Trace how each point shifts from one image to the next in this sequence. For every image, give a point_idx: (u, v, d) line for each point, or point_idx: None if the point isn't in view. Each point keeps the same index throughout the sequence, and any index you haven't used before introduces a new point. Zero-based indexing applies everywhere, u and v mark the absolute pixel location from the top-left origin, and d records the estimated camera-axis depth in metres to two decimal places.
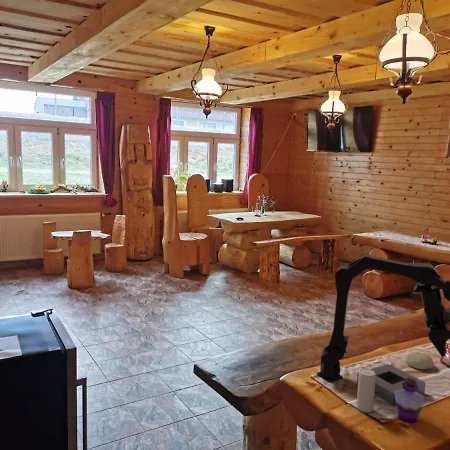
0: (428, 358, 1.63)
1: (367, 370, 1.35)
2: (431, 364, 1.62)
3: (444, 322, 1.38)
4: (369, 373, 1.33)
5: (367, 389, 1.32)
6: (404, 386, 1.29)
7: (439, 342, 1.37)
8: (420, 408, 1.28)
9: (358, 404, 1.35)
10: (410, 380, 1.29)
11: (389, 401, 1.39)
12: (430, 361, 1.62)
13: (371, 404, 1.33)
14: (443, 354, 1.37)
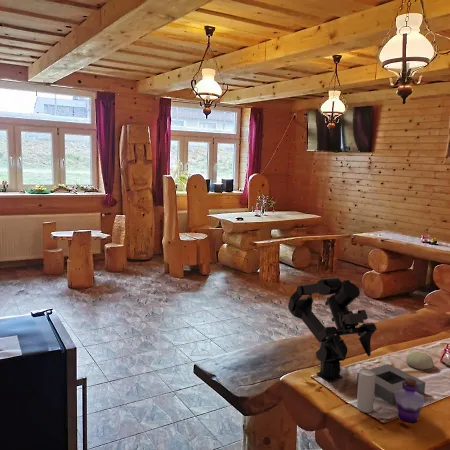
0: (428, 358, 1.63)
1: (367, 370, 1.35)
2: (431, 364, 1.62)
3: (341, 325, 1.43)
4: (369, 373, 1.33)
5: (367, 389, 1.32)
6: (404, 386, 1.29)
7: (335, 344, 1.41)
8: (420, 408, 1.28)
9: (358, 404, 1.35)
10: (410, 380, 1.29)
11: (389, 401, 1.39)
12: (430, 361, 1.62)
13: (371, 404, 1.33)
14: (342, 356, 1.39)
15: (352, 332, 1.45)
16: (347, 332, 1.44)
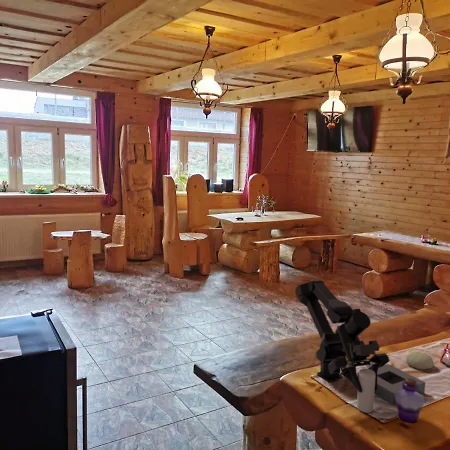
0: (428, 358, 1.63)
1: (367, 370, 1.35)
2: (431, 364, 1.62)
3: (351, 356, 1.37)
4: (369, 373, 1.33)
5: (367, 389, 1.32)
6: (404, 386, 1.29)
7: (351, 376, 1.36)
8: (420, 408, 1.28)
9: (358, 404, 1.35)
10: (410, 380, 1.29)
11: (389, 401, 1.39)
12: (430, 361, 1.62)
13: (371, 404, 1.33)
14: (359, 389, 1.33)
15: (363, 363, 1.38)
16: (358, 363, 1.38)
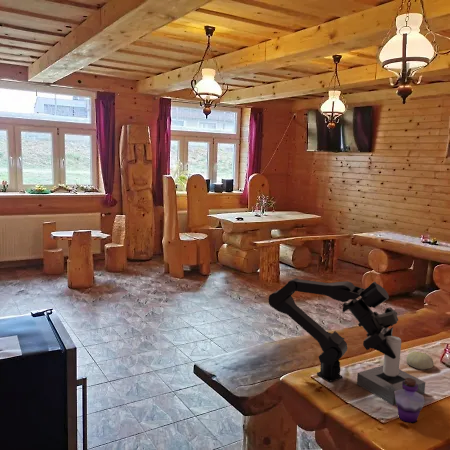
0: (428, 358, 1.63)
1: (391, 337, 1.44)
2: (431, 364, 1.62)
3: (378, 328, 1.42)
4: (396, 339, 1.43)
5: (399, 354, 1.42)
6: (404, 386, 1.29)
7: (382, 346, 1.41)
8: (420, 408, 1.28)
9: (389, 371, 1.43)
10: (410, 380, 1.29)
11: (389, 401, 1.39)
12: (430, 361, 1.62)
13: None
14: (393, 355, 1.41)
15: (381, 332, 1.46)
16: None
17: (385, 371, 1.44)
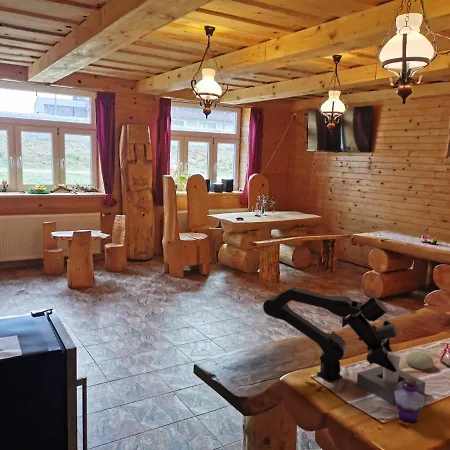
0: (428, 358, 1.63)
1: (389, 353, 1.48)
2: (431, 364, 1.62)
3: (379, 341, 1.45)
4: (394, 355, 1.47)
5: (398, 369, 1.46)
6: (404, 386, 1.29)
7: (383, 361, 1.43)
8: (420, 408, 1.28)
9: None
10: (410, 380, 1.29)
11: (389, 401, 1.39)
12: (430, 361, 1.62)
13: None
14: (394, 369, 1.43)
15: None
16: None
17: None
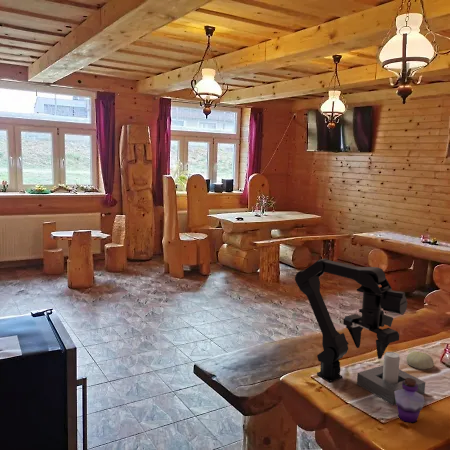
0: (428, 358, 1.63)
1: (389, 353, 1.48)
2: (431, 364, 1.62)
3: (382, 325, 1.42)
4: (394, 355, 1.47)
5: (398, 369, 1.46)
6: (404, 386, 1.29)
7: (382, 345, 1.39)
8: (420, 408, 1.28)
9: None
10: (410, 380, 1.29)
11: (389, 401, 1.39)
12: (430, 361, 1.63)
13: None
14: (380, 356, 1.41)
15: None
16: None
17: None
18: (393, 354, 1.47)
